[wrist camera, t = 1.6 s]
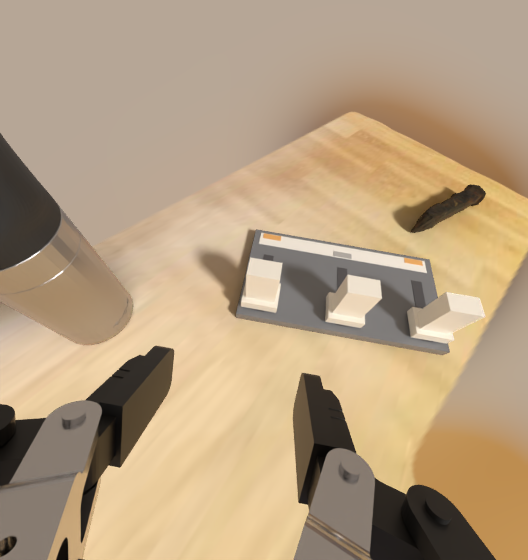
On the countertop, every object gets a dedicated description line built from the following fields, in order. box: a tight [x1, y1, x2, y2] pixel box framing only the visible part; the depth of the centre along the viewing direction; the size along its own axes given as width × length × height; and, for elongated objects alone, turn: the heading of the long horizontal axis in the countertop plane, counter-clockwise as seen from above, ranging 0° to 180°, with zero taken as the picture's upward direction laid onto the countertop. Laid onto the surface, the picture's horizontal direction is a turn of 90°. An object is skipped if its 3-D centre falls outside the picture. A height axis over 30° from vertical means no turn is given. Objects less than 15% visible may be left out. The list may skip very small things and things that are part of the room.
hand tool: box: [411, 185, 486, 233], centre depth 50 cm, size 19×4×5 cm, turn 120°
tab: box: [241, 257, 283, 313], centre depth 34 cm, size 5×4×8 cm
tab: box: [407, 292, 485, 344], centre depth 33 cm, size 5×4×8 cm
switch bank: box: [236, 229, 450, 355], centre depth 40 cm, size 30×16×2 cm, turn 80°
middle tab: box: [325, 275, 382, 328], centre depth 34 cm, size 5×4×8 cm
